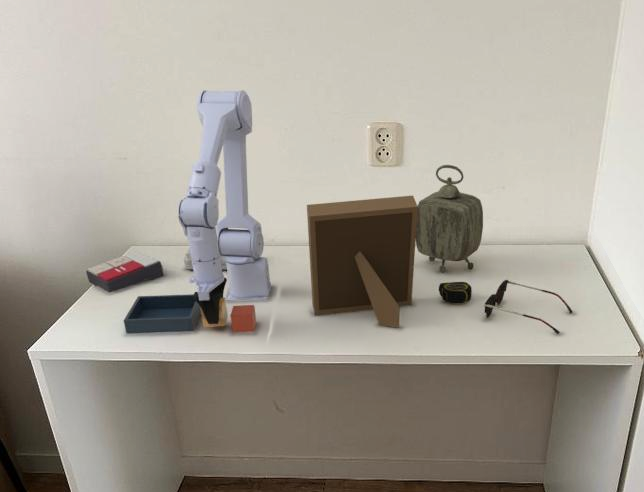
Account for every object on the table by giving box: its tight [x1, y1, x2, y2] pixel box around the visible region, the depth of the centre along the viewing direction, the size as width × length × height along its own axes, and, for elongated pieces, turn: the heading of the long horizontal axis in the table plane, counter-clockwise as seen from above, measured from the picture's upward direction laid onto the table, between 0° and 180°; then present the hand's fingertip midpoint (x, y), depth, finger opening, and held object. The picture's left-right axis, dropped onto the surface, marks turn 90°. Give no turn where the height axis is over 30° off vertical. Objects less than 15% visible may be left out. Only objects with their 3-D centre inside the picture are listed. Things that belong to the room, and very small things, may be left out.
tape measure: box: [438, 281, 473, 305], centre depth 164 cm, size 7×7×4 cm
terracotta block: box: [230, 304, 257, 333], centre depth 156 cm, size 4×4×4 cm
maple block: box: [200, 297, 229, 328], centre depth 155 cm, size 4×4×4 cm
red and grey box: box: [85, 251, 165, 293], centre depth 182 cm, size 11×4×15 cm
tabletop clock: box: [415, 164, 484, 273], centre depth 174 cm, size 14×9×25 cm, turn 58°
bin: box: [123, 293, 201, 334], centre depth 161 cm, size 14×12×4 cm
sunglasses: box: [484, 279, 574, 335], centre depth 156 cm, size 14×16×5 cm
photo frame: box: [306, 195, 418, 328], centre depth 153 cm, size 15×22×25 cm
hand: (215, 317), depth 156 cm, fingers closed on maple block, 4 cm apart
